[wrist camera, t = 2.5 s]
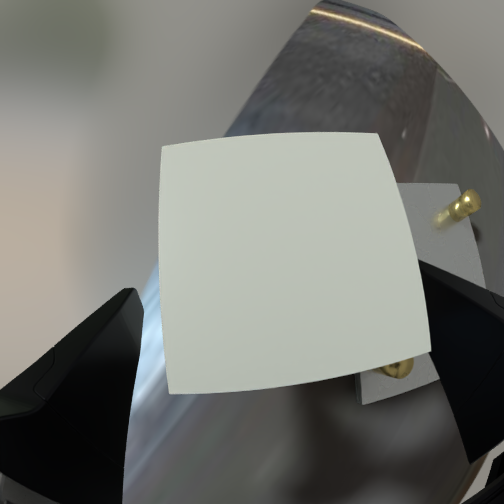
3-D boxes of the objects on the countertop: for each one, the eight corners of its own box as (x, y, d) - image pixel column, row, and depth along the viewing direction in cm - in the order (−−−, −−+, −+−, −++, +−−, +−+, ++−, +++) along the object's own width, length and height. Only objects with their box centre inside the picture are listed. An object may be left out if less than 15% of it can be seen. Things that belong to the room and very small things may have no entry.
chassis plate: (484, 353, 15) (514, 352, 12) (356, 401, 15) (379, 415, 11) (451, 189, 19) (473, 169, 16) (324, 192, 19) (338, 164, 15)
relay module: (312, 341, 16) (433, 352, 4) (226, 351, 16) (167, 396, 4) (301, 258, 17) (378, 132, 6) (218, 267, 17) (159, 145, 6)
